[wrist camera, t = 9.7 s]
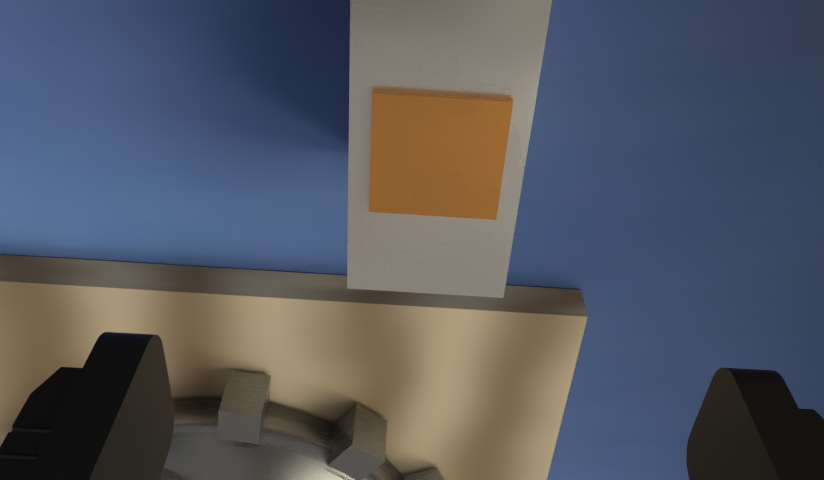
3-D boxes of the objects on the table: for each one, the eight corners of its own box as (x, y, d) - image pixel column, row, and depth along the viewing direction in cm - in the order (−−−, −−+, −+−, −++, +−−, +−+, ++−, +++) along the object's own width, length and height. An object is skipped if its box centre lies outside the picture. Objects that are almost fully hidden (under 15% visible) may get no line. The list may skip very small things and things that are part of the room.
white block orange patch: (521, -96, 21) (556, -15, 15) (487, 162, 25) (503, 303, 19) (374, -106, 21) (349, -29, 15) (367, 155, 25) (346, 293, 19)
